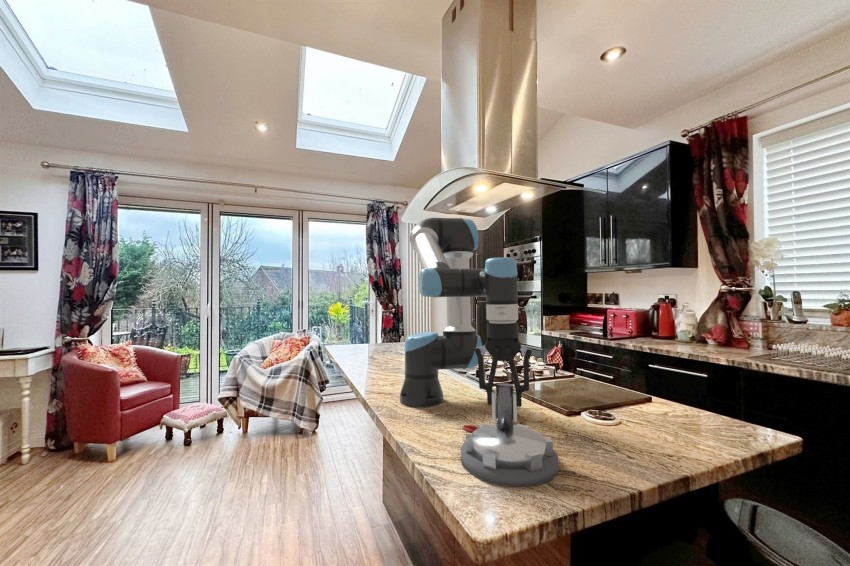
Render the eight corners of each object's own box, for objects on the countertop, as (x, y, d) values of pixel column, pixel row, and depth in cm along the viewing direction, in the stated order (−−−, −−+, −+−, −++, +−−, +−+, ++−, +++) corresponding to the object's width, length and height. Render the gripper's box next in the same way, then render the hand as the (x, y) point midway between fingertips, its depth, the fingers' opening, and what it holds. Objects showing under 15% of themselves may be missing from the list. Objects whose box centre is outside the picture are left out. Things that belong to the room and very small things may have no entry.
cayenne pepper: (457, 427, 101) (457, 420, 101) (472, 424, 102) (471, 418, 103) (478, 443, 90) (478, 435, 90) (494, 440, 91) (494, 433, 91)
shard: (513, 433, 96) (513, 426, 96) (487, 427, 101) (487, 420, 101) (527, 421, 105) (527, 414, 105) (502, 416, 110) (502, 410, 110)
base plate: (468, 437, 92) (468, 428, 92) (554, 446, 87) (554, 437, 87) (452, 478, 72) (452, 467, 72) (563, 493, 66) (563, 481, 66)
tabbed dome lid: (465, 433, 89) (465, 381, 90) (542, 436, 87) (542, 383, 87) (465, 468, 72) (465, 403, 72) (562, 473, 70) (561, 406, 70)
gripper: (464, 323, 85) (466, 422, 84) (540, 323, 80) (543, 427, 80) (468, 320, 92) (470, 411, 92) (539, 320, 88) (541, 416, 87)
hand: (504, 418), depth 86 cm, fingers open, 4 cm apart
